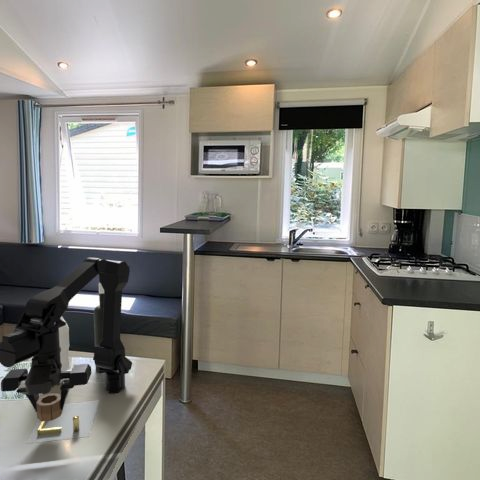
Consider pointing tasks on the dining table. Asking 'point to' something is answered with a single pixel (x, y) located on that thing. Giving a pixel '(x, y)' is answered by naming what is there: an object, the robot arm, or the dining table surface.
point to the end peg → (75, 423)
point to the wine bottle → (99, 320)
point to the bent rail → (47, 429)
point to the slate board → (68, 423)
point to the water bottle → (64, 346)
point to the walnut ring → (49, 407)
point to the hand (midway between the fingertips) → (50, 409)
